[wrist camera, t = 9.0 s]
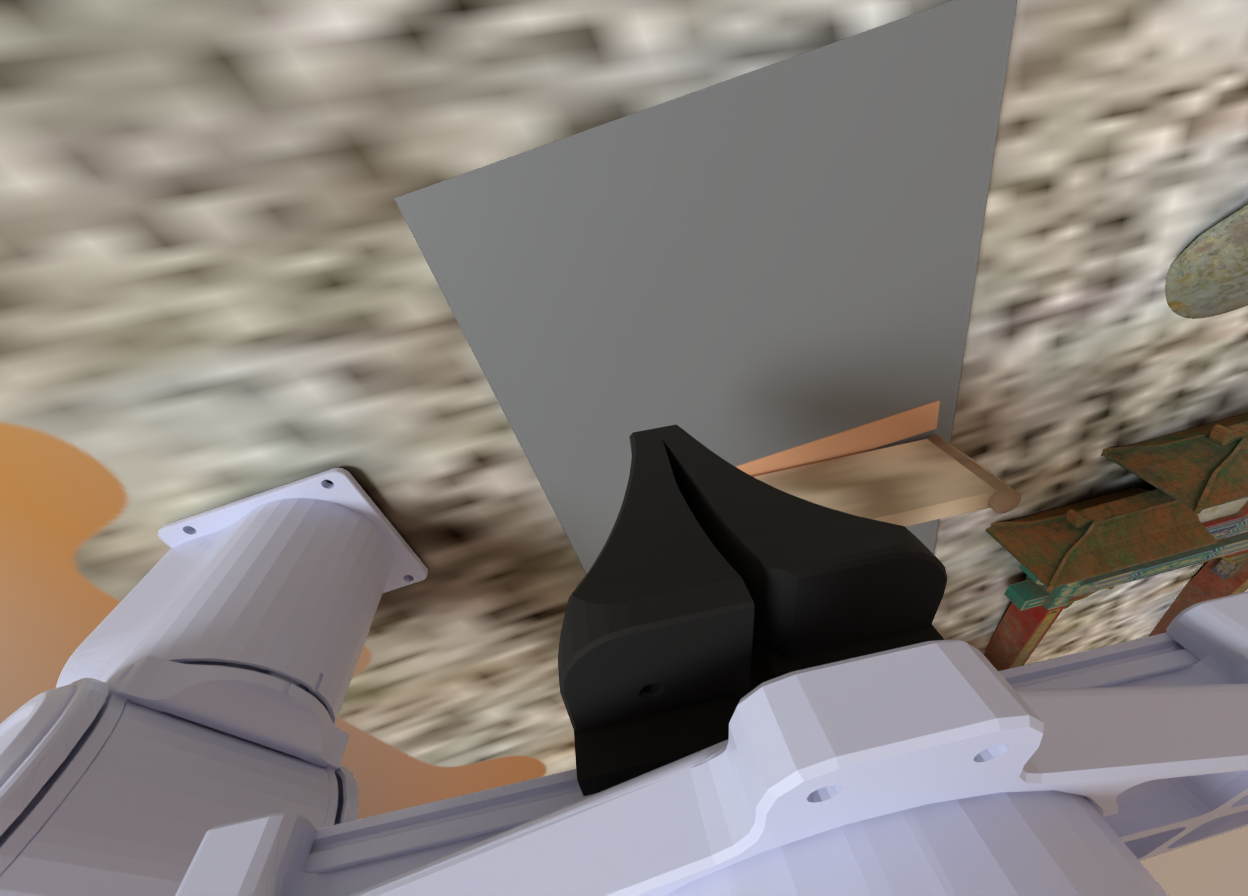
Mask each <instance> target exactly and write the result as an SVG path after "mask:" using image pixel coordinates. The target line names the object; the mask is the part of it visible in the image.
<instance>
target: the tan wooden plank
mask: <svg viewBox="0 0 1248 896" xmlns="http://www.w3.org/2000/svg"><path fill="white" fill-rule="evenodd" d="M754 478H756V479H758V480H760V481H762V482H764V483H766V484H768V485H771V486H773V487H775V488H777V489H779V490H781V491H784V492H786V493H789V494H791V495H794V496H796V497H799V498H802V499H804V500H807V501H809V502H812V503H815V504H818V505H821V506H824V507H827V508H831V509H834V510H838V511H841V512H845V513H848V514H852V515H855V516H859V517H864V518H869V519H873V520H878V521H883V522H887V523H892V524H897V525H901V526H905V527H906V526H910V525H915V524H919V523H923V522H928V521H932V520H937V519H941V518H945V517H950V516H954V515H959V514H963V513H968V512H972V511H976V510H981V509H985V508H990V507H991V508H992V509H993V510H994V511H996V512H997V513H1005V512H1008V511H1010V510H1012V509H1013V508H1015V507H1016V506H1017V505H1018V503H1019V502H1020V500H1021V495H1020V494H1019V493H1018V492H1016V491H1015V490H1013V489H1012V487H1011V486H1009V485H1008V484H1007V483H1005V482H1004V481H1002V480H1001V479H1000V478H998V477H997V476H995V475H994V474H993V473H991V472H990V471H988V470H987V469H986V468H984V467H983V466H981V465H980V464H978V463H977V462H976V461H974V460H973V459H971V458H970V457H969V456H967V455H966V454H964V453H963V452H962V451H960V450H959V449H957V448H956V447H955V446H953V445H952V444H950V443H949V442H948V441H946V440H945V439H943V438H942V437H941V436H931V437H929V438H927V439H924V440H919V441H914V442H910V443H905V444H901V445H896V446H892V447H887V448H882V449H878V450H873V451H869V452H864V453H860V454H855V455H851V456H846V457H841V458H837V459H832V460H828V461H823V462H819V463H814V464H809V465H805V466H800V467H796V468H791V469H787V470H782V471H777V472H773V473H768V474H764V475H759V476H755V477H754Z"/></svg>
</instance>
